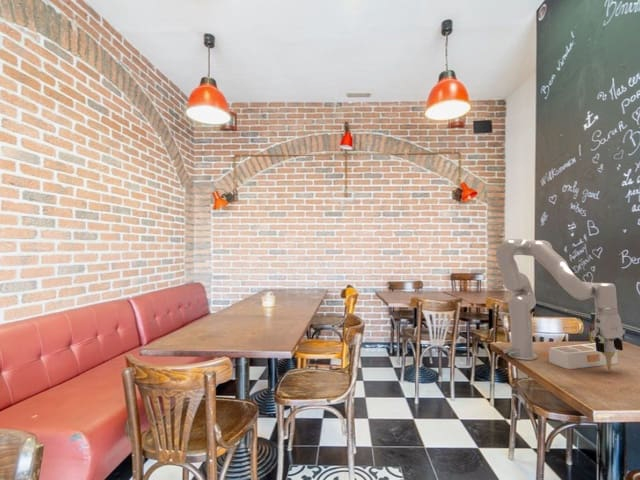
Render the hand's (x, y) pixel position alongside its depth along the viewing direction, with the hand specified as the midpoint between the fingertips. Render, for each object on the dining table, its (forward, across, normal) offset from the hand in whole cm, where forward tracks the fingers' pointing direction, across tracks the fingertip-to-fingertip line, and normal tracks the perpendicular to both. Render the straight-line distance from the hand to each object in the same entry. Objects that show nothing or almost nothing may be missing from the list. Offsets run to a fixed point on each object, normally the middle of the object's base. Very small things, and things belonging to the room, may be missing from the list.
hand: (609, 350), depth 150 cm
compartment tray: (+9, +1, +14) cm, 16 cm away
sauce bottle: (+10, +24, +26) cm, 36 cm away
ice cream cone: (+10, 0, 0) cm, 10 cm away
